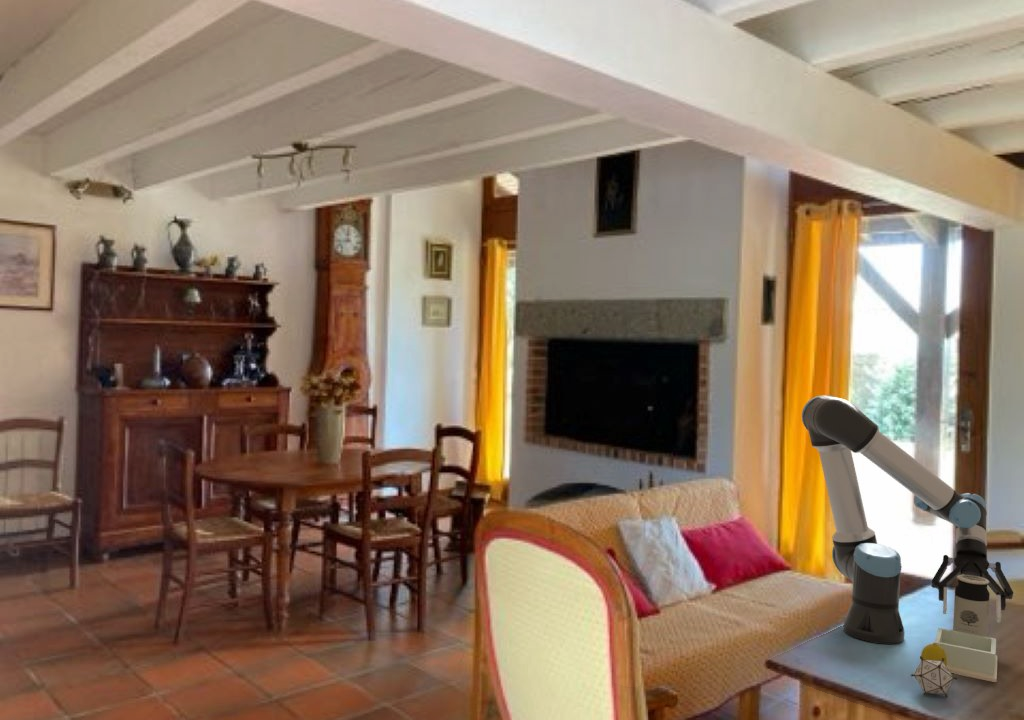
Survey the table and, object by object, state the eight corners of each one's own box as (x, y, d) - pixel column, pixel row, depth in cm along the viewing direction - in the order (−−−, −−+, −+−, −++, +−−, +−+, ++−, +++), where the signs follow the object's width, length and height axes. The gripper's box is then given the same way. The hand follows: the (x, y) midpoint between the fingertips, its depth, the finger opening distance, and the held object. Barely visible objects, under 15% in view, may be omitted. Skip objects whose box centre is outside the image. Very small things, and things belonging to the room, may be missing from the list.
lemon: (923, 669, 204) (925, 637, 204) (948, 676, 200) (950, 643, 200) (917, 676, 199) (919, 642, 199) (942, 683, 196) (944, 649, 196)
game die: (934, 707, 191) (955, 669, 193) (949, 709, 183) (971, 670, 185) (898, 683, 193) (918, 645, 196) (911, 684, 185) (933, 645, 188)
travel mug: (959, 638, 227) (963, 572, 227) (991, 647, 221) (995, 579, 221) (946, 644, 222) (950, 577, 221) (979, 654, 216) (983, 584, 215)
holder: (996, 682, 198) (997, 658, 197) (930, 668, 205) (931, 645, 204) (997, 658, 213) (998, 636, 213) (935, 646, 220) (936, 624, 220)
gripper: (1020, 558, 230) (1023, 631, 216) (922, 546, 240) (919, 614, 227) (1023, 543, 225) (1027, 616, 211) (923, 531, 235) (921, 600, 222)
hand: (971, 615), depth 219 cm, fingers open, 12 cm apart
